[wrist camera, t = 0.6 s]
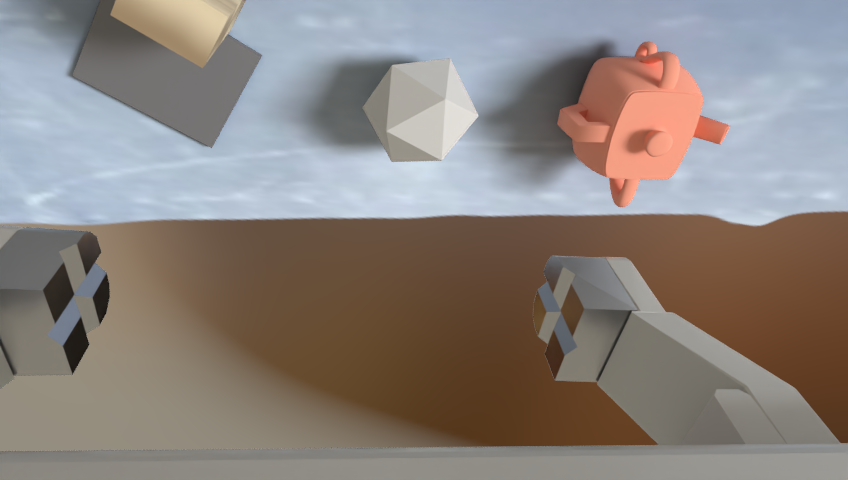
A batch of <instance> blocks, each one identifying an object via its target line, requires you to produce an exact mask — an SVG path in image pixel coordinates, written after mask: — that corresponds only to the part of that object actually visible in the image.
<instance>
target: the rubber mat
mask: <svg viewBox="0 0 848 480" xmlns="http://www.w3.org/2000/svg"><path fill="white" fill-rule="evenodd" d="M115 1H116V0H100V3H99V6H98V8H97V11H96V14H95V16H94V19H93V22H92V24H91V27H90V30H89V32H88V35H87V38H86V41H85V43H84V46H83V49H82V51H81V54H80V57H79V59H78V62H77V65H76V67H75V70H74V73H73V77H75V78H77V79H79V80H81V81H83V82H85V83H87V84H89V85H91V86H93V87H95V88H97V89H99V90H100V91H102V92H104V93H106V94H108V95H110V96H112V97H114V98H116V99H118V100H120V101H122V102H124V103H126V104H128V105H129V106H131V107H133V108H135V109H137V110H139V111H141V112H143V113H145V114H147V115H149V116H151V117H153V118H155V119H157V120H158V121H160V122H162V123H164V124H166V125H168V126H170V127H172V128H174V129H176V130H178V131H180V132H182V133H184V134H186V135H187V136H189V137H191V138H193V139H195V140H197V141H199V142H201V143H203V144H205V145H207V146H209V147H211V148H212V147H213V145H214V143H215V141H216V139H217V137H218V135H219V134H220V132H221V130H222V128H223V126H224V124H225V123H226V121H227V119H228V117H229V115H230V113H231V112H232V110H233V108H234V106H235V104H236V102H237V101H238V99H239V97H240V95H241V93H242V91H243V89H244V88H245V86H246V84H247V82H248V80H249V78H250V77H251V75H252V73H253V71H254V69H255V67H256V66H257V64H258V62H259V60H260V58H261V56H262V55H261V54H259V53H257V52H256V51H254V50H252V49H251V48H249V47H248V46H246V45H244V44H243V43H241V42H239V41H238V40H236V39H235V38H233V37H231V36H230V35H228V34H227V36H226V37H225V38H224V40H223V41H222V43H221V44H220V45H219V47H218V48H217V49H216V51H215V52H214V53H213V55H212V56H211V58H210V59H209V60H208V62H207V63H206V64H205V66H204V67H203V68H201V67H200V66H198V65H196V64H194V63H193V62H191V61H189V60H187V59H186V58H184V57H182V56H181V55H179V54H177V53H175V52H174V51H172V50H170V49H168V48H167V47H165V46H163V45H161V44H160V43H158V42H156V41H154V40H153V39H151V38H149V37H148V36H146V35H144V34H142V33H141V32H139V31H137V30H135V29H134V28H132V27H130V26H128V25H127V24H125V23H123V22H121V21H120V20H118V19H116V18H114V17H113V16H111V15H110V14H111V11H112V9H113V6H114V4H115Z"/></svg>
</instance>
